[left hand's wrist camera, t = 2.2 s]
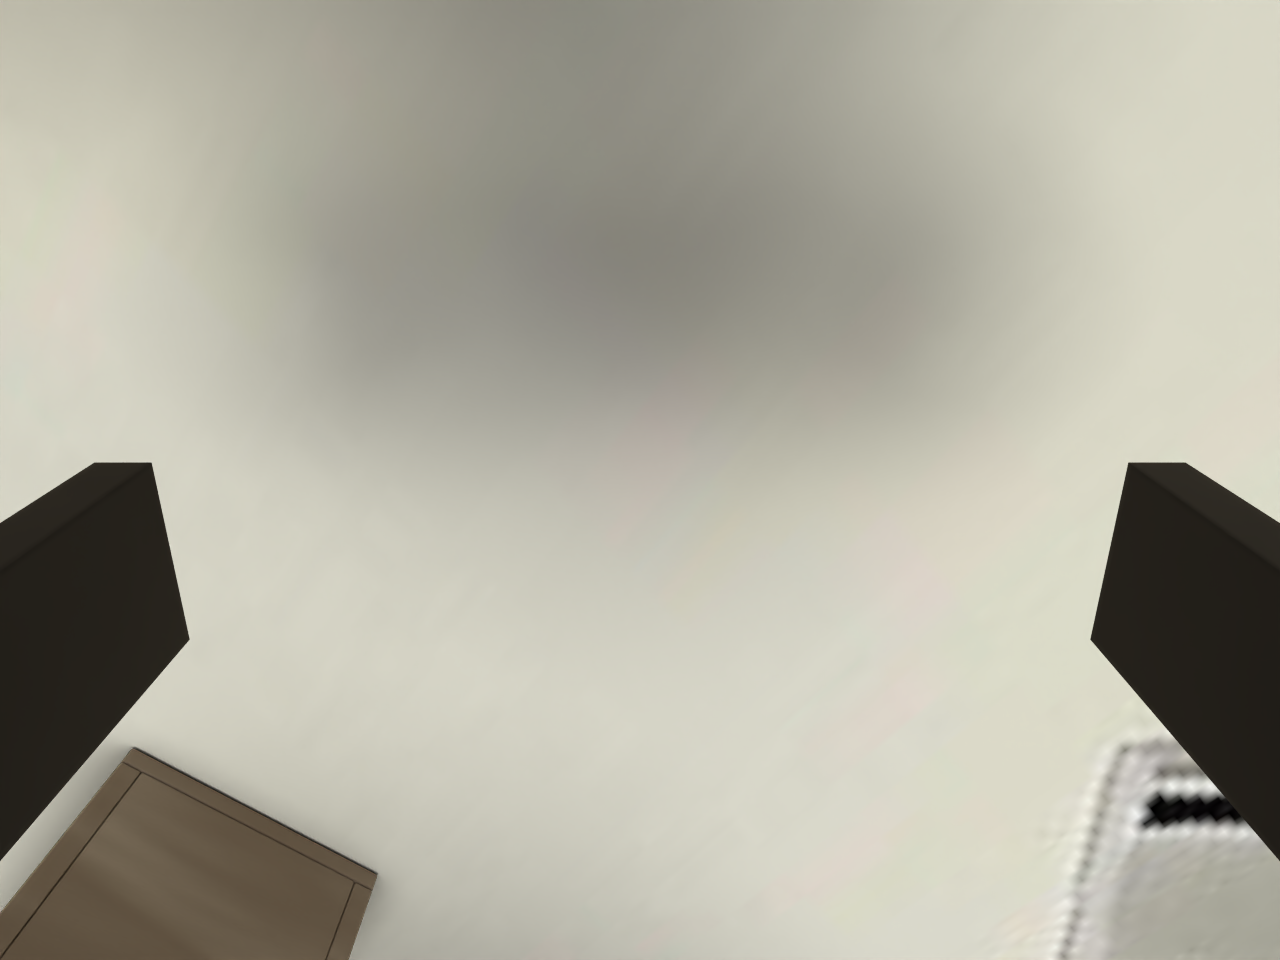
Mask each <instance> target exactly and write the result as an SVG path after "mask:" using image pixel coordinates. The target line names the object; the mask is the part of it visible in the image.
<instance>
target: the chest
mask: <svg viewBox="0 0 1280 960" xmlns="http://www.w3.org/2000/svg"><path fill="white" fill-rule="evenodd" d="M376 879H377V875H376V874H374V873H372V872H371V871H369V870H367V869H365V868H363V867H361V866H359V865H357V864H355V863H353V862H351V861H349V860H347V859H345V858H344V857H342V856H340V855H338V854H336V853H334V852H332V851H330V850H328V849H326V848H324V847H322V846H320V845H319V844H317V843H315V842H313V841H311V840H309V839H307V838H305V837H303V836H301V835H299V834H297V833H295V832H294V831H292V830H290V829H288V828H286V827H284V826H282V825H280V824H278V823H276V822H274V821H272V820H270V819H268V818H267V817H265V816H263V815H261V814H259V813H257V812H255V811H253V810H251V809H249V808H247V807H245V806H243V805H242V804H240V803H238V802H236V801H234V800H232V799H230V798H228V797H226V796H224V795H222V794H220V793H218V792H217V791H215V790H213V789H211V788H209V787H207V786H205V785H203V784H201V783H199V782H197V781H195V780H193V779H191V778H190V777H188V776H186V775H184V774H182V773H180V772H178V771H176V770H174V769H172V768H170V767H168V766H166V765H165V764H163V763H161V762H159V761H157V760H155V759H153V758H151V757H149V756H147V755H145V754H143V753H141V752H139V751H138V750H136V749H132V750H130V752H129V753H128V754H127V755H126V757H125V758H124V759H123V760H122V762H121V763H120V764H119V765H118V767H117V768H116V769H115V770H114V772H113V773H112V774H111V775H110V777H109V778H108V779H107V780H106V782H105V783H104V784H103V785H102V787H101V788H100V789H99V790H98V792H97V793H96V794H95V795H94V797H93V798H92V799H91V800H90V802H89V803H88V804H87V805H86V807H85V808H84V809H83V810H82V812H81V813H80V814H79V815H78V817H77V818H76V819H75V820H74V822H73V823H72V824H71V825H70V827H69V828H68V829H67V830H66V832H65V833H64V834H63V835H62V837H61V838H60V839H59V840H58V842H57V843H56V844H55V845H54V846H53V848H52V849H51V850H50V851H49V853H48V854H47V855H46V856H45V858H44V859H43V860H42V861H41V863H40V864H39V865H38V866H37V868H36V869H35V870H34V871H33V873H32V874H31V875H30V876H29V878H28V879H27V880H26V881H25V883H24V884H23V885H22V886H21V888H20V889H19V890H18V891H17V893H16V894H15V895H14V896H13V898H12V899H11V900H10V901H9V903H8V904H7V905H6V906H5V908H4V909H3V910H2V911H1V913H0V960H348V959H349V957H350V954H351V951H352V948H353V945H354V942H355V939H356V936H357V933H358V930H359V928H360V925H361V922H362V919H363V916H364V913H365V910H366V907H367V904H368V902H369V899H370V896H371V891H372V890H373V887H374V884H375V881H376Z"/></svg>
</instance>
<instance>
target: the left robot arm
mask: <svg viewBox="0 0 1280 960" xmlns="http://www.w3.org/2000/svg"><path fill="white" fill-rule="evenodd" d="M189 640H190V639H189V635H188V630H187V625H186V621H185V616H184V611H183V607H182V602H181V597H180V593H179V588H178V583H177V579H176V574H175V569H174V565H173V560H172V556H171V551H170V546H169V542H168V537H167V532H166V528H165V523H164V518H163V514H162V509H161V504H160V500H159V495H158V490H157V486H156V481H155V477H154V472H153V467H152V463H93V464H92V465H90V466H88V467H87V468H85V469H84V470H82V471H81V472H79V473H78V474H76V475H74V476H73V477H71V478H70V479H68V480H67V481H65V482H64V483H62V484H60V485H59V486H57V487H56V488H54V489H53V490H51V491H50V492H48V493H46V494H45V495H43V496H42V497H40V498H39V499H37V500H35V501H34V502H32V503H31V504H29V505H28V506H26V507H25V508H23V509H21V510H20V511H18V512H17V513H15V514H14V515H12V516H11V517H9V518H7V519H6V520H4V521H3V522H1V523H0V861H1V859H2V858H3V857H4V856H5V855H6V854H7V852H8V851H9V850H10V849H11V848H12V847H13V845H14V844H15V843H16V842H17V841H18V840H19V838H20V837H21V836H22V835H23V834H24V833H25V831H26V830H27V829H28V828H29V827H30V826H31V824H32V823H33V822H34V821H35V820H36V818H37V817H38V816H39V815H40V814H41V813H42V811H43V810H44V809H45V808H46V807H47V806H48V804H49V803H50V802H51V801H52V800H53V799H54V797H55V796H56V795H57V794H58V793H59V792H60V790H61V789H62V788H63V787H64V786H65V785H66V783H67V782H68V781H69V780H70V779H71V778H72V776H73V775H74V774H75V773H76V772H77V771H78V769H79V768H80V767H81V766H82V765H83V764H84V762H85V761H86V760H87V759H88V758H89V756H90V755H91V754H92V753H93V752H94V751H95V749H96V748H97V747H98V746H99V745H100V744H101V742H102V741H103V740H104V739H105V738H106V737H107V735H108V734H109V733H110V732H111V731H112V730H113V728H114V727H115V726H116V725H117V724H118V723H119V721H120V720H121V719H122V718H123V717H124V716H125V714H126V713H127V712H128V711H129V710H130V709H131V707H132V706H133V705H134V704H135V703H136V702H137V700H138V699H139V698H140V697H141V696H142V695H143V693H144V692H145V691H146V690H147V689H148V687H149V686H150V685H151V684H152V683H153V682H154V680H155V679H156V678H157V677H158V676H159V675H160V673H161V672H162V671H163V670H164V669H165V668H166V666H167V665H168V664H169V663H170V662H171V661H172V659H173V658H174V657H175V656H176V655H177V654H178V652H179V651H180V650H181V649H182V648H183V647H184V645H185V644H186V643H187V642H188V641H189ZM1090 640H1091V641H1092V642H1093V643H1094V644H1095V645H1096V647H1097V648H1098V649H1099V650H1100V651H1101V652H1102V654H1103V655H1104V656H1105V657H1106V658H1107V659H1108V661H1109V662H1110V663H1111V664H1112V665H1113V666H1114V668H1115V669H1116V670H1117V671H1118V672H1119V673H1120V675H1121V676H1122V677H1123V678H1124V679H1125V680H1126V682H1127V683H1128V684H1129V685H1130V686H1131V687H1132V689H1133V690H1134V691H1135V692H1136V693H1137V695H1138V696H1139V697H1140V698H1141V699H1142V700H1143V702H1144V703H1145V704H1146V705H1147V706H1148V707H1149V709H1150V710H1151V711H1152V712H1153V713H1154V714H1155V716H1156V717H1157V718H1158V719H1159V720H1160V721H1161V723H1162V724H1163V725H1164V726H1165V727H1166V728H1167V730H1168V731H1169V732H1170V733H1171V734H1172V735H1173V737H1174V738H1175V739H1176V740H1177V741H1178V742H1179V744H1180V745H1181V746H1182V747H1183V748H1184V749H1185V751H1186V752H1187V753H1188V754H1189V755H1190V756H1191V758H1192V759H1193V760H1194V761H1195V762H1196V764H1197V765H1198V766H1199V767H1200V768H1201V769H1202V771H1203V772H1204V773H1205V774H1206V775H1207V776H1208V778H1209V779H1210V780H1211V781H1212V782H1213V783H1214V785H1215V786H1216V787H1217V788H1218V789H1219V790H1220V792H1221V793H1222V794H1223V795H1224V796H1225V797H1226V799H1227V800H1228V801H1229V802H1230V803H1231V804H1232V806H1233V807H1234V808H1235V809H1236V810H1237V811H1238V813H1239V814H1240V815H1241V816H1242V817H1243V818H1244V820H1245V821H1246V822H1247V823H1248V824H1249V826H1250V827H1251V828H1252V829H1253V830H1254V831H1255V833H1256V834H1257V835H1258V836H1259V837H1260V838H1261V840H1262V841H1263V842H1264V843H1265V844H1266V845H1267V847H1268V848H1269V849H1270V850H1271V851H1272V852H1273V854H1274V855H1275V856H1276V857H1277V858H1278V859H1279V861H1280V523H1279V522H1277V521H1276V520H1274V519H1273V518H1271V517H1269V516H1268V515H1266V514H1265V513H1263V512H1262V511H1260V510H1259V509H1257V508H1255V507H1254V506H1252V505H1251V504H1249V503H1248V502H1246V501H1245V500H1243V499H1241V498H1240V497H1238V496H1237V495H1235V494H1234V493H1232V492H1230V491H1229V490H1227V489H1226V488H1224V487H1223V486H1221V485H1220V484H1218V483H1216V482H1215V481H1213V480H1212V479H1210V478H1209V477H1207V476H1206V475H1204V474H1202V473H1201V472H1199V471H1198V470H1196V469H1195V468H1193V467H1192V466H1190V465H1188V464H1187V463H1128V467H1127V472H1126V476H1125V481H1124V486H1123V490H1122V495H1121V500H1120V504H1119V509H1118V514H1117V518H1116V523H1115V528H1114V532H1113V537H1112V542H1111V546H1110V551H1109V556H1108V560H1107V565H1106V569H1105V574H1104V579H1103V583H1102V588H1101V593H1100V597H1099V602H1098V607H1097V611H1096V616H1095V621H1094V625H1093V630H1092V635H1091V639H1090Z"/></svg>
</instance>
